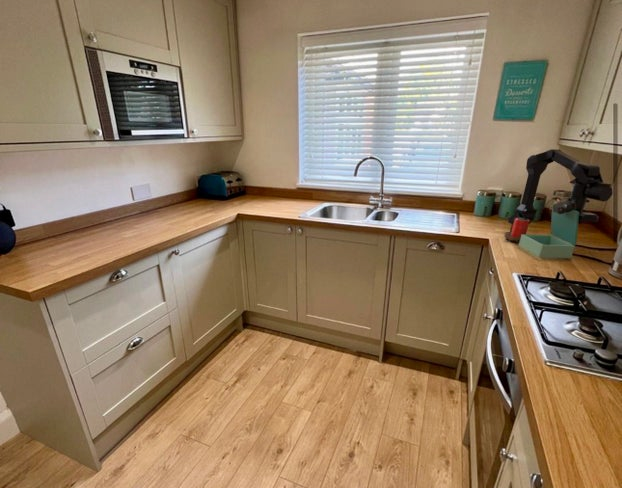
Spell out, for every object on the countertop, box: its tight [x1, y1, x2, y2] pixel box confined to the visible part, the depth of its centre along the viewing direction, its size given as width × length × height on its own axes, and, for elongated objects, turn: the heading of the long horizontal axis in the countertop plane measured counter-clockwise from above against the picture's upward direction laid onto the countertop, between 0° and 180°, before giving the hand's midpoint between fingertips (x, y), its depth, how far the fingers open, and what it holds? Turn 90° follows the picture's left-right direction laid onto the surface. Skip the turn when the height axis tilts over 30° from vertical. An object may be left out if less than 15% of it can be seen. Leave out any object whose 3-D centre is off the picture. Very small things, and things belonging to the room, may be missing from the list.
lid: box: [550, 203, 579, 246], centre depth 140 cm, size 14×15×1 cm
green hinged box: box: [518, 233, 576, 259], centre depth 144 cm, size 14×15×6 cm
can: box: [511, 218, 530, 238], centre depth 155 cm, size 6×6×8 cm
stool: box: [503, 232, 521, 245], centre depth 158 cm, size 9×9×4 cm
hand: (567, 232), depth 142 cm, fingers closed
